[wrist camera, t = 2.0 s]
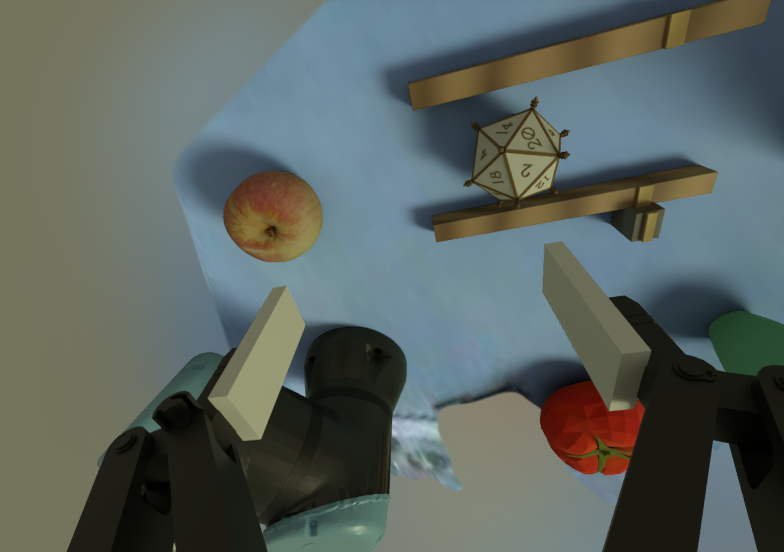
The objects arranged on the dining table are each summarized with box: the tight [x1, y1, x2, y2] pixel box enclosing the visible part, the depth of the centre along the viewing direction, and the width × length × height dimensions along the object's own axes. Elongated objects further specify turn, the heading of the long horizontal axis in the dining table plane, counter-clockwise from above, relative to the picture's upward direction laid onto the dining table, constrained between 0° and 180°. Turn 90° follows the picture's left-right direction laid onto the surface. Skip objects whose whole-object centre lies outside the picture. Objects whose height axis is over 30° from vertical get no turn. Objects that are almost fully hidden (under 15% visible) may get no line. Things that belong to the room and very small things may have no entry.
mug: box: [708, 311, 784, 376], centre depth 39 cm, size 15×10×10 cm
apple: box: [223, 171, 322, 262], centre depth 33 cm, size 9×9×8 cm
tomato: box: [540, 381, 645, 475], centre depth 48 cm, size 14×16×10 cm
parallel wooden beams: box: [408, 0, 771, 242], centre depth 30 cm, size 26×18×4 cm
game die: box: [463, 96, 570, 209], centre depth 29 cm, size 9×8×10 cm
